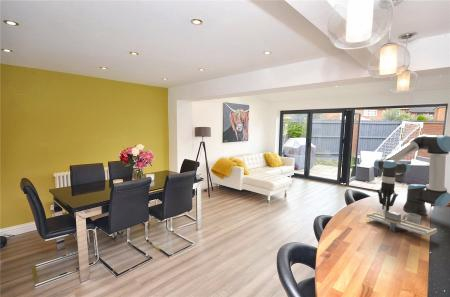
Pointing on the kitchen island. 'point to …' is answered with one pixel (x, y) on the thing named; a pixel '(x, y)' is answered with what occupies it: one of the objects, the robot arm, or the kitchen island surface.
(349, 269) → the kitchen island surface
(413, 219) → the cup
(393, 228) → the fulcrum
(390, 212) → the block
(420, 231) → the beam
